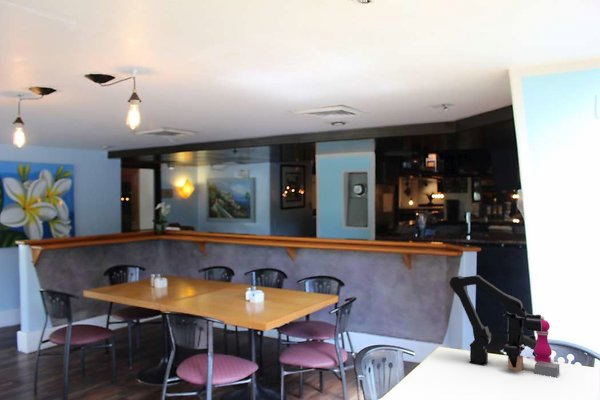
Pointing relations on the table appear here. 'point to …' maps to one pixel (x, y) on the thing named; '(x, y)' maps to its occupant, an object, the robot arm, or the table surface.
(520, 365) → the terracotta block
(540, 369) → the gray box
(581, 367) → the table surface
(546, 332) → the pepper mill
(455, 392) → the table surface
